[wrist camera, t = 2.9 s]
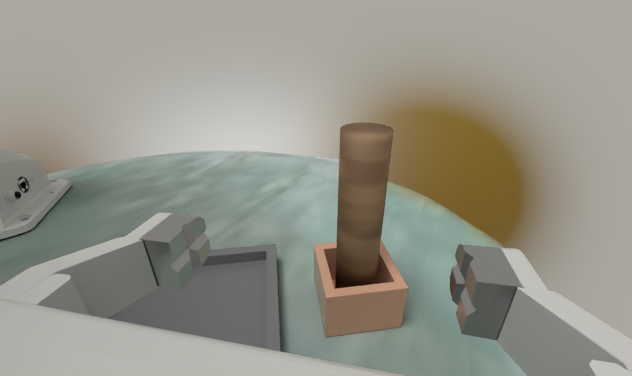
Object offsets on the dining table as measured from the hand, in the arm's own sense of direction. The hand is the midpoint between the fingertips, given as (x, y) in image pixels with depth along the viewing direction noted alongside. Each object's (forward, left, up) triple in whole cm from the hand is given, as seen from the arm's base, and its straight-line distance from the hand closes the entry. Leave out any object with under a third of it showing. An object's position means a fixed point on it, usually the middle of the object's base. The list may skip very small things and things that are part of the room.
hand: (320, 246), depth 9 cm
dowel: (-12, +5, -15) cm, 20 cm away
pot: (-12, +5, -16) cm, 20 cm away
